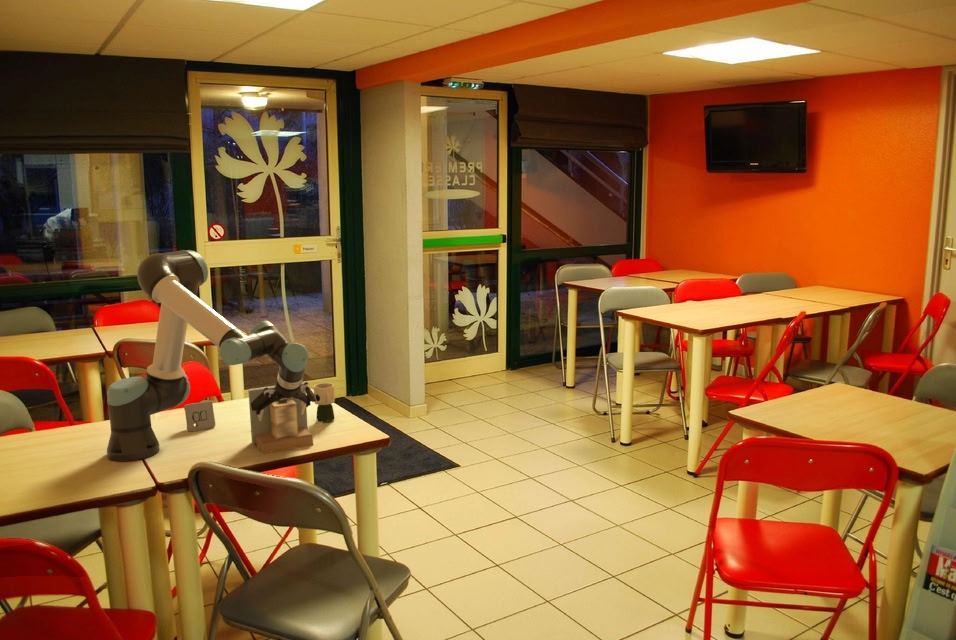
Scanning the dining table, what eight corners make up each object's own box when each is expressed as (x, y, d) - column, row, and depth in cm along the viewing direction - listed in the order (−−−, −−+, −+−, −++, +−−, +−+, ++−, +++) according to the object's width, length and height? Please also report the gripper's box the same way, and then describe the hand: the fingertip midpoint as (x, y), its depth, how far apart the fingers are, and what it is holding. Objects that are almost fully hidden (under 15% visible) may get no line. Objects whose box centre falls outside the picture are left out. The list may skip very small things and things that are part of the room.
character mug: (312, 418, 279) (310, 382, 277) (331, 415, 282) (329, 380, 280) (319, 426, 269) (317, 390, 267) (339, 423, 272) (337, 387, 270)
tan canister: (276, 440, 247) (274, 403, 245) (271, 433, 254) (269, 397, 251) (298, 436, 250) (296, 400, 248) (292, 430, 257) (290, 394, 254)
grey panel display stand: (259, 453, 244) (256, 398, 240) (251, 442, 254) (248, 389, 251) (316, 444, 252) (313, 390, 248) (306, 433, 262) (303, 382, 259)
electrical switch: (187, 432, 265) (185, 406, 264) (184, 430, 269) (182, 403, 268) (216, 428, 270) (213, 401, 269) (212, 425, 274) (210, 399, 273)
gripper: (250, 396, 230) (243, 430, 246) (332, 385, 241) (320, 418, 257) (245, 374, 233) (239, 409, 249) (326, 364, 245) (315, 398, 261)
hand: (280, 414), depth 253 cm, fingers open, 13 cm apart
